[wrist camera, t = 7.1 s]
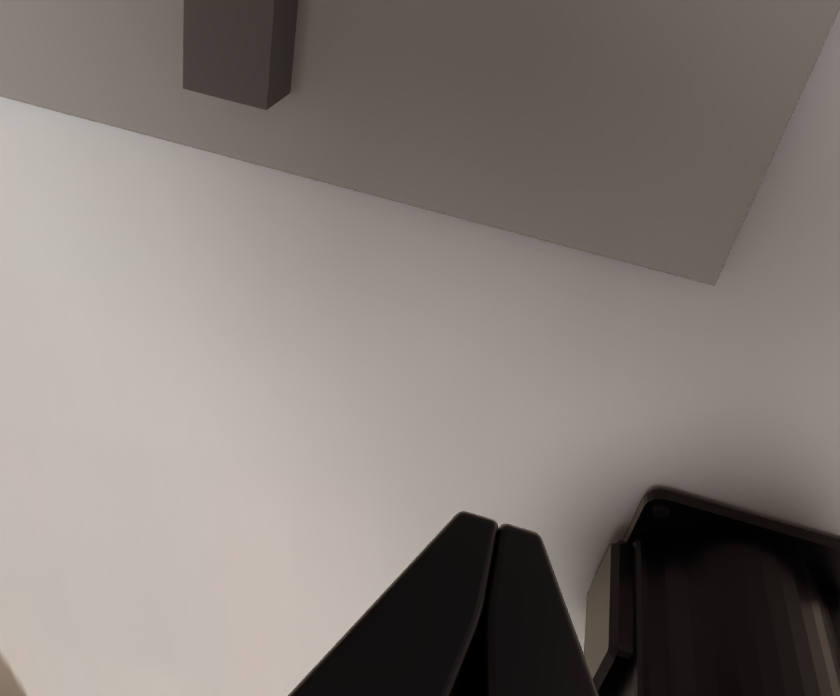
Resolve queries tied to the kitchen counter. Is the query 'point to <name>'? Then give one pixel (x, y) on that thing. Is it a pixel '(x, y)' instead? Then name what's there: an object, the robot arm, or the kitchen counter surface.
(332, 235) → the kitchen counter surface
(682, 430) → the kitchen counter surface
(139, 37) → the rubber mat
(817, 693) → the robot arm
